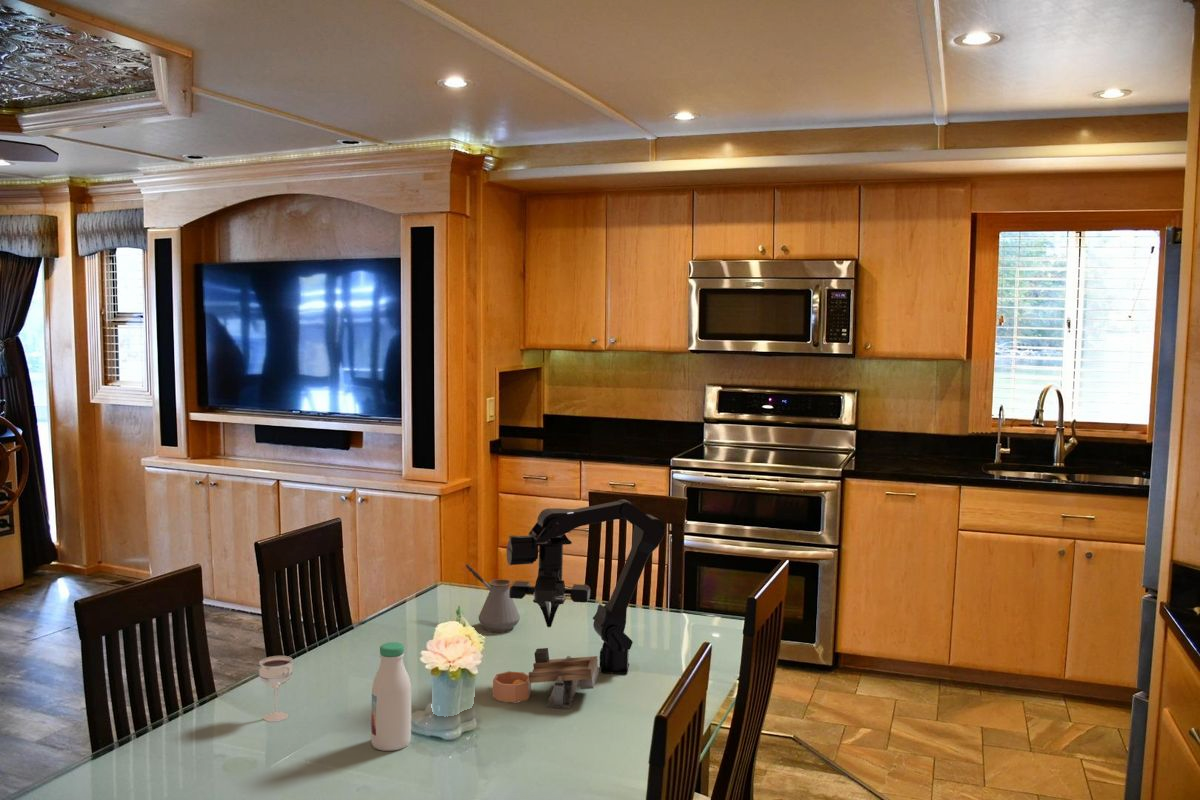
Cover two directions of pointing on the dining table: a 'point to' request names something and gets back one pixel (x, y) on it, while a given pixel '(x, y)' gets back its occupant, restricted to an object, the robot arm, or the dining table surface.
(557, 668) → the lever
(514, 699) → the terracotta octagonal container
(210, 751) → the dining table surface
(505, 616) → the coffee pot
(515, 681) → the ball
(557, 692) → the stand
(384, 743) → the milk bottle
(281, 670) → the wineglass
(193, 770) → the dining table surface
